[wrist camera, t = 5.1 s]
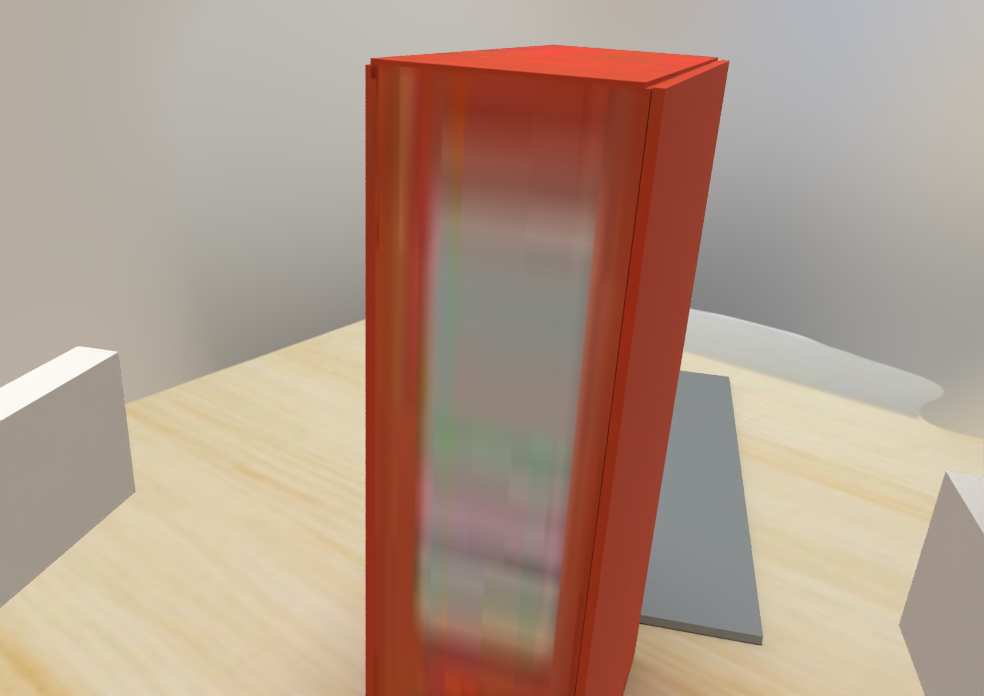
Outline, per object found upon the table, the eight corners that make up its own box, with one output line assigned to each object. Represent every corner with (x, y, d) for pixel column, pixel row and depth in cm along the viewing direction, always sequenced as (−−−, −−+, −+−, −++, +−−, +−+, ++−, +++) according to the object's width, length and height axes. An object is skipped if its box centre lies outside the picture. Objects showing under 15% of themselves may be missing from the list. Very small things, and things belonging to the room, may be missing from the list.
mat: (728, 382, 82) (728, 376, 82) (761, 644, 48) (762, 636, 48) (493, 352, 86) (493, 347, 86) (367, 573, 52) (367, 565, 52)
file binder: (639, 659, 46) (730, 56, 34) (556, 966, 31) (666, 80, 19) (503, 620, 49) (543, 44, 36) (365, 889, 34) (354, 57, 21)
